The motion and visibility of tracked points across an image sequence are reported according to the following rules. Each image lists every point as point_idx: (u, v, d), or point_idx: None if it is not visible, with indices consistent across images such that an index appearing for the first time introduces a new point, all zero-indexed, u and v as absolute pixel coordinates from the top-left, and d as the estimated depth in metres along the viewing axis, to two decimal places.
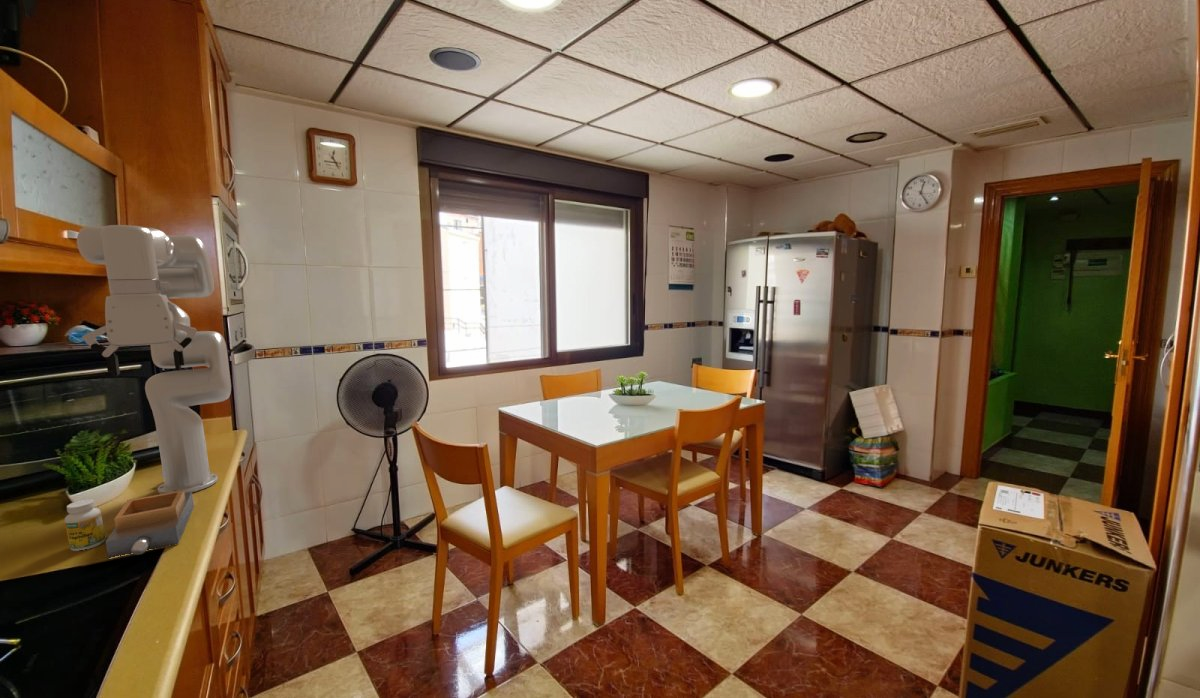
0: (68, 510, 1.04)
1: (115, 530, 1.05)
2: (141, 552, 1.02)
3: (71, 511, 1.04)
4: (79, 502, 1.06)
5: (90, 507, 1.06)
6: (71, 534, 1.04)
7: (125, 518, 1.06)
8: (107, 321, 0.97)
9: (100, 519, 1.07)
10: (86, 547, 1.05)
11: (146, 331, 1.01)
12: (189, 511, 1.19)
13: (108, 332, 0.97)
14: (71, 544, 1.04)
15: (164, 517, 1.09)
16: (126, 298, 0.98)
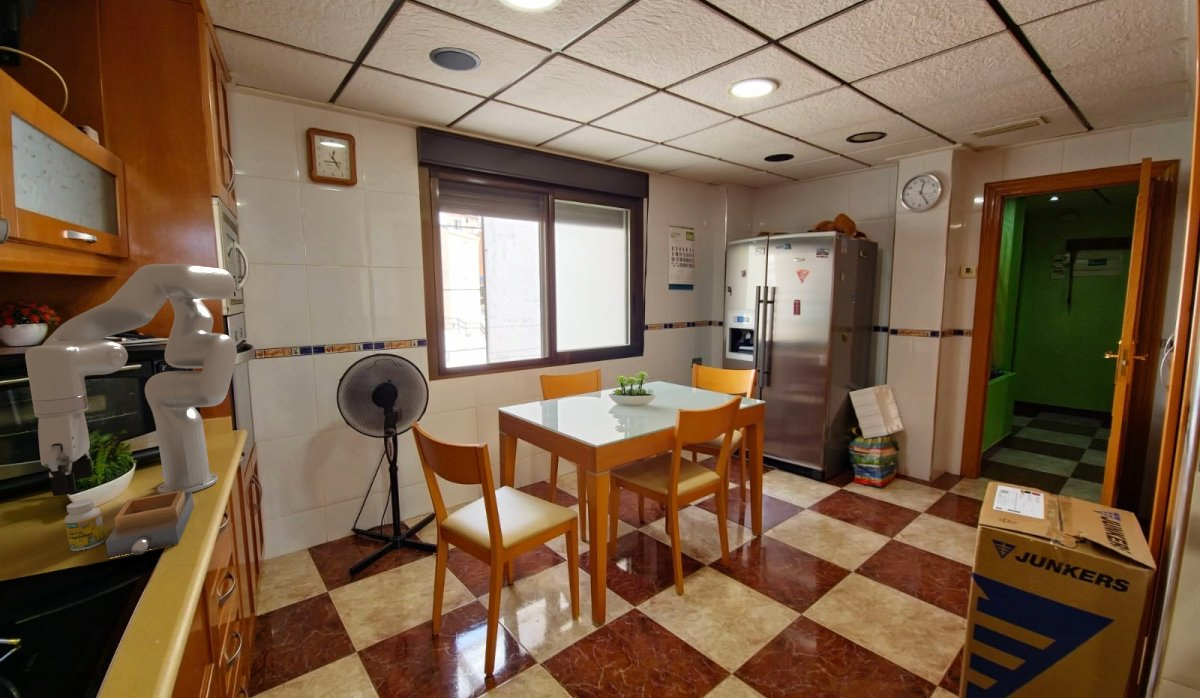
0: (68, 510, 1.04)
1: (115, 530, 1.05)
2: (141, 552, 1.02)
3: (71, 511, 1.04)
4: (79, 502, 1.06)
5: (90, 507, 1.06)
6: (71, 534, 1.04)
7: (125, 518, 1.06)
8: (71, 438, 1.00)
9: (100, 519, 1.07)
10: (86, 547, 1.05)
11: (83, 443, 1.05)
12: (189, 511, 1.19)
13: (72, 449, 1.00)
14: (71, 544, 1.04)
15: (164, 517, 1.09)
16: (77, 413, 1.02)
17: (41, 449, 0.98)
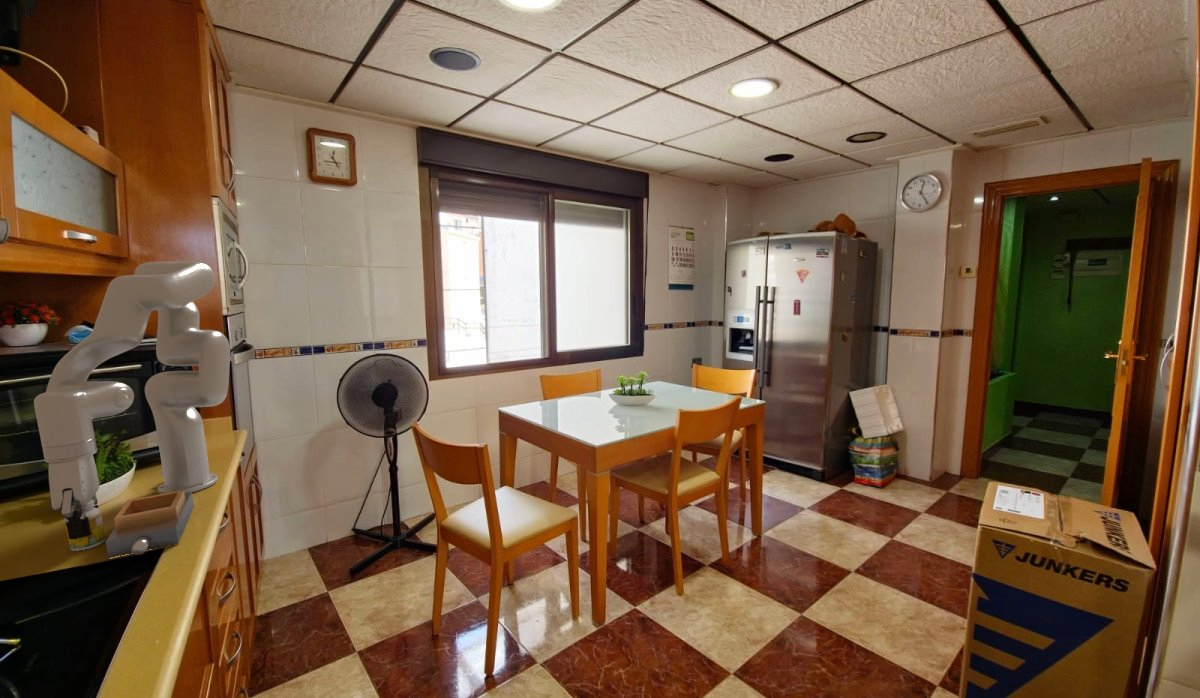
0: None
1: (115, 530, 1.05)
2: (141, 552, 1.02)
3: None
4: (79, 502, 1.06)
5: (90, 507, 1.06)
6: None
7: (125, 518, 1.06)
8: (81, 482, 1.02)
9: (100, 519, 1.07)
10: (86, 547, 1.05)
11: (93, 484, 1.07)
12: (189, 511, 1.19)
13: (82, 493, 1.02)
14: (71, 544, 1.04)
15: (164, 517, 1.09)
16: (86, 456, 1.04)
17: (52, 494, 0.99)
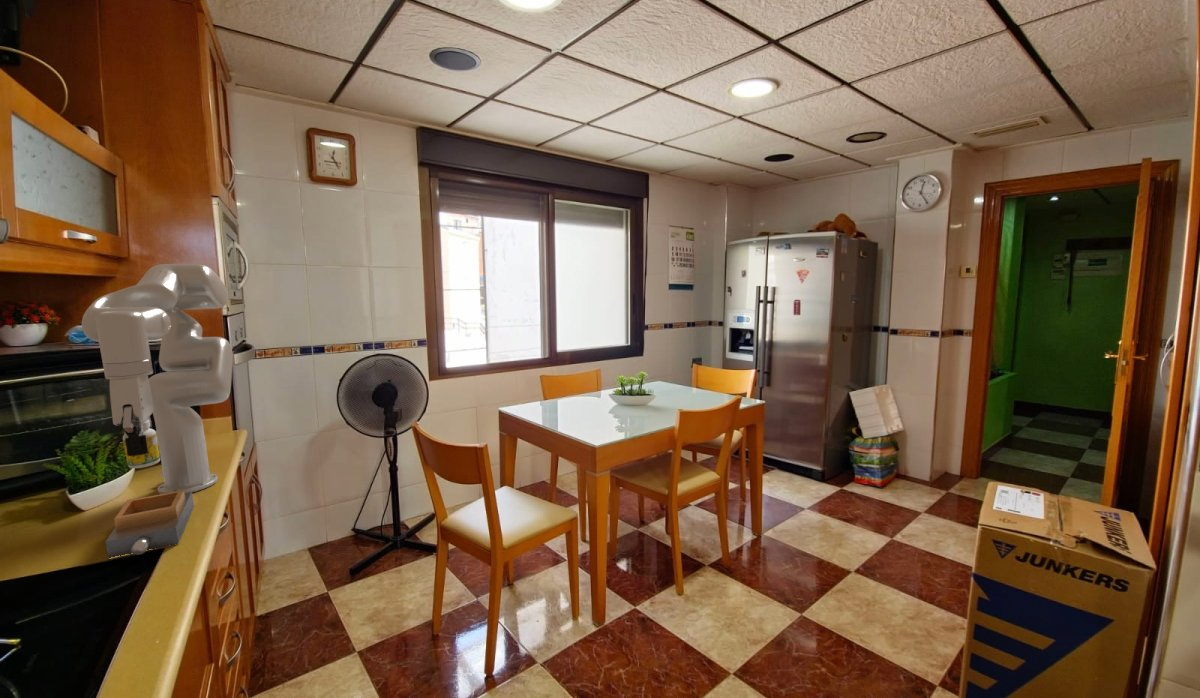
0: None
1: (115, 530, 1.05)
2: (141, 552, 1.02)
3: None
4: None
5: (146, 426, 1.09)
6: None
7: (125, 518, 1.06)
8: (140, 400, 1.05)
9: (155, 439, 1.10)
10: (143, 465, 1.08)
11: (149, 405, 1.10)
12: (189, 511, 1.19)
13: (141, 410, 1.05)
14: (129, 461, 1.07)
15: (164, 517, 1.09)
16: (144, 376, 1.07)
17: (113, 409, 1.03)
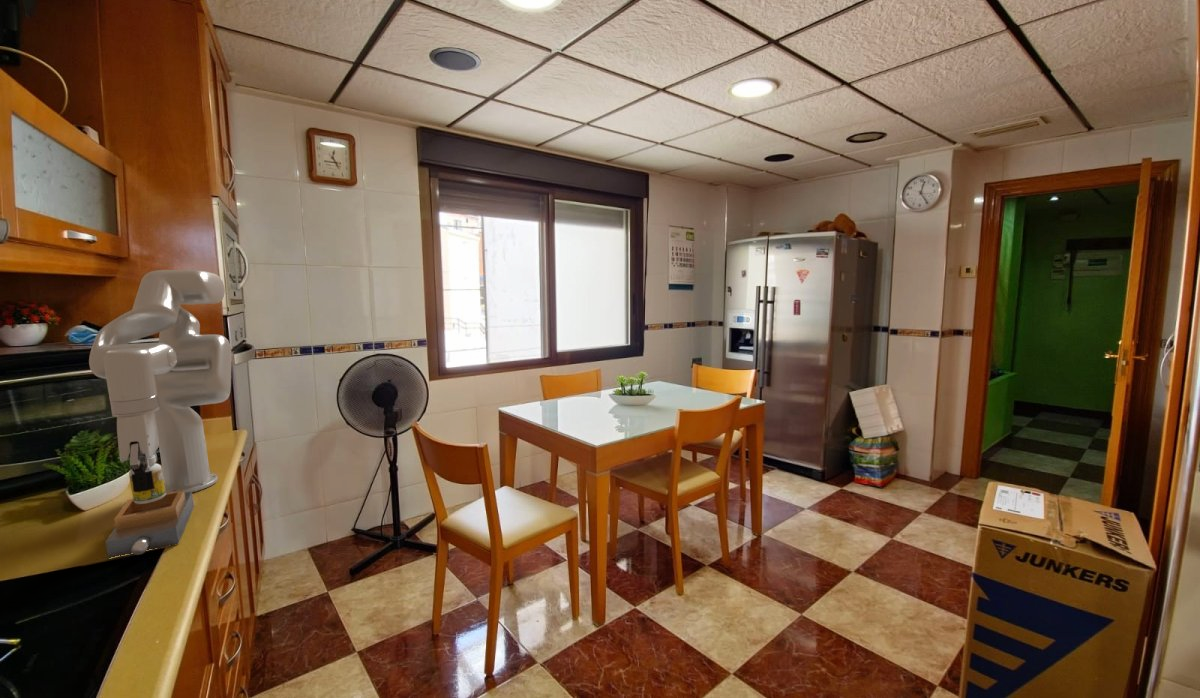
0: None
1: (115, 530, 1.05)
2: (141, 552, 1.02)
3: None
4: (142, 457, 1.10)
5: (152, 461, 1.10)
6: None
7: (125, 518, 1.06)
8: (146, 437, 1.06)
9: (161, 474, 1.12)
10: (149, 500, 1.09)
11: (155, 440, 1.11)
12: (189, 511, 1.19)
13: (148, 446, 1.06)
14: (135, 497, 1.08)
15: (164, 517, 1.09)
16: (150, 413, 1.08)
17: (120, 447, 1.04)
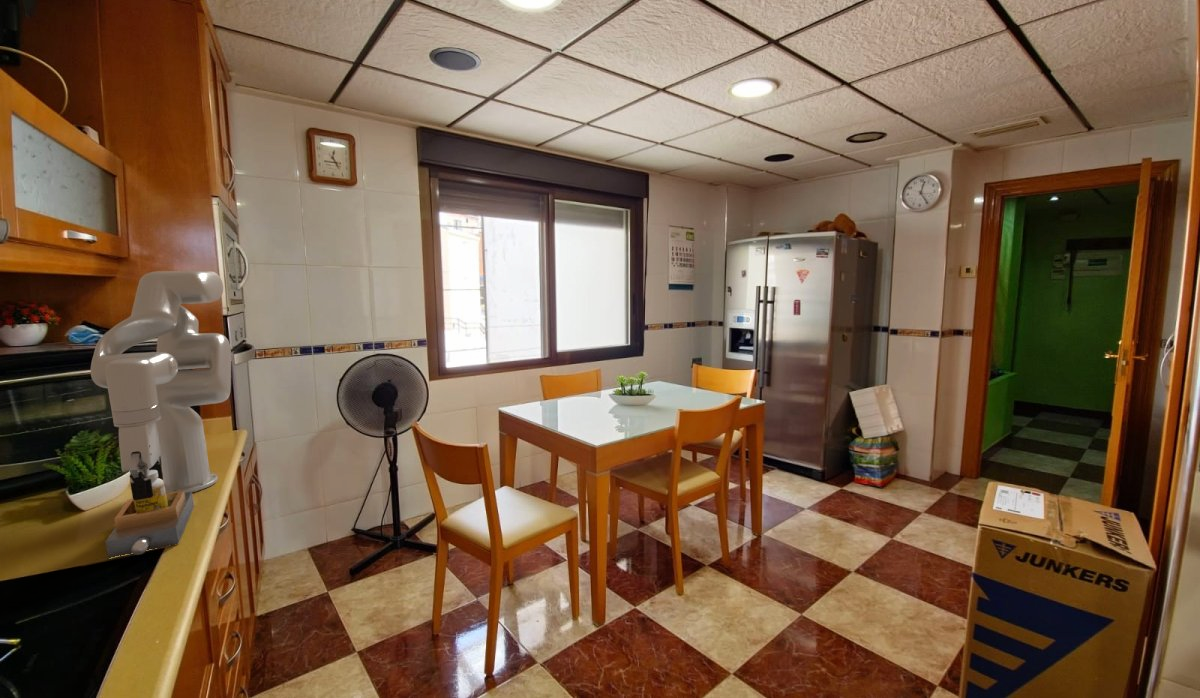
0: None
1: (115, 530, 1.05)
2: (141, 552, 1.02)
3: None
4: None
5: (155, 477, 1.11)
6: (138, 502, 1.09)
7: (125, 518, 1.06)
8: (148, 446, 1.07)
9: (164, 489, 1.12)
10: None
11: (156, 450, 1.12)
12: (189, 511, 1.19)
13: (149, 456, 1.07)
14: (138, 512, 1.09)
15: (164, 517, 1.09)
16: (152, 422, 1.09)
17: (122, 457, 1.04)
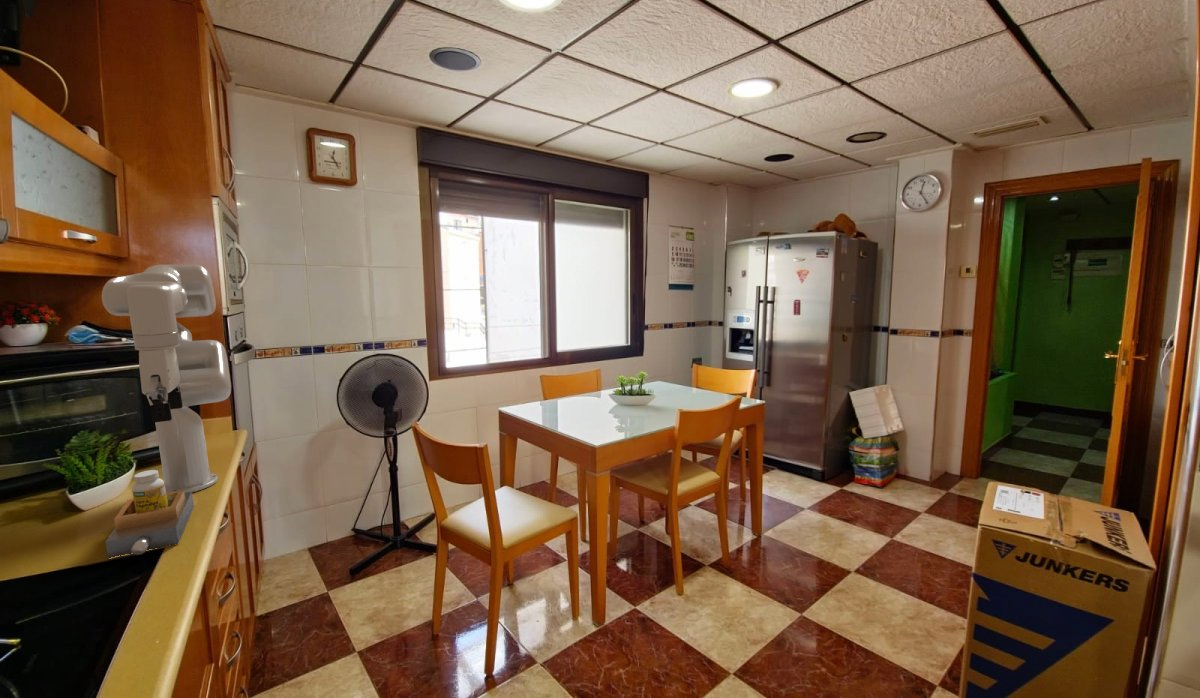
0: (135, 479, 1.09)
1: (115, 530, 1.05)
2: (141, 552, 1.02)
3: (138, 480, 1.09)
4: (145, 472, 1.11)
5: (155, 477, 1.11)
6: (138, 502, 1.09)
7: (125, 518, 1.06)
8: (167, 371, 1.09)
9: (164, 489, 1.12)
10: None
11: (175, 376, 1.14)
12: (189, 511, 1.19)
13: (168, 380, 1.09)
14: (138, 512, 1.09)
15: (164, 517, 1.09)
16: (171, 348, 1.11)
17: (142, 379, 1.07)
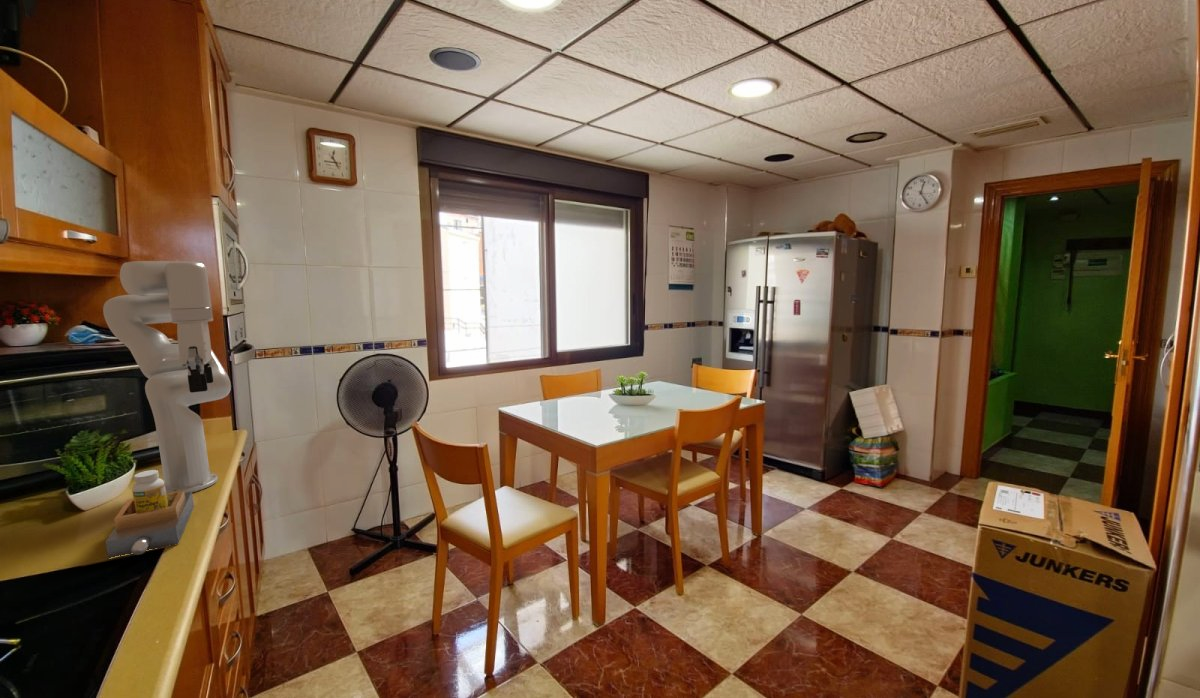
0: (136, 479, 1.09)
1: (115, 530, 1.05)
2: (141, 552, 1.02)
3: (139, 480, 1.09)
4: (145, 472, 1.11)
5: (155, 477, 1.11)
6: (138, 502, 1.09)
7: (125, 518, 1.06)
8: (203, 343, 1.15)
9: (164, 489, 1.12)
10: None
11: (209, 350, 1.20)
12: (189, 511, 1.19)
13: (204, 352, 1.15)
14: (138, 512, 1.09)
15: (164, 517, 1.09)
16: (206, 323, 1.17)
17: (180, 350, 1.12)
